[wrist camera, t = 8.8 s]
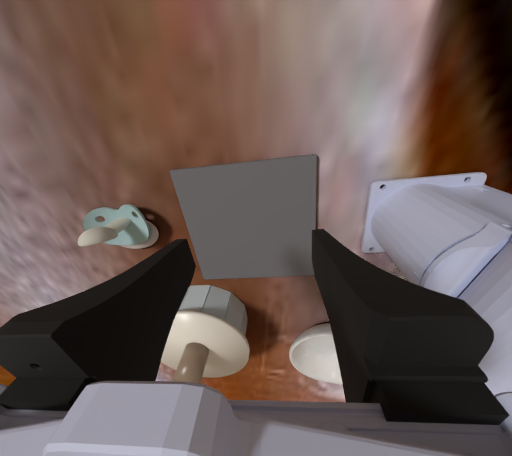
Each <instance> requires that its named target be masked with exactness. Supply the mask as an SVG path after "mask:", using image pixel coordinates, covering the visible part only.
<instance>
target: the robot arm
mask: <svg viewBox="0 0 512 456" xmlns="http://www.w3.org/2000/svg"><path fill="white" fill-rule="evenodd" d="M467 177H468V178H467ZM465 178H467V180H466V181H464V180H465ZM486 178H487V175H486V174H485V173H482V172H474V173H463V174H452V175H441V176H430V177H419V178H408V179H397V180H386V181H376V182H373V183H372V184H371V185H370V190H369V197H368V204H367V211H366V218H365V225H364V232H363V239H362V246H361V250H362V251H363V252H364V253H379V252H386V253H387V255H388V256H389V257H390V259H391V260H392V261H393V262H394V264H395V265H396V266H397V268H398V269H399V270H400V271H401V273H402V274H403V275H404V276H405V278H406V279H407V280H408V281H406V280H404V279H401V278H399V277H397V276H395V275H392V274H390V273H388V272H386V271H384V270H382V269H380V268H378V267H376V266H374V265H373V264H371V263H369V262H367V261H365V260H364V259H362V258H361V257H359V256H358V255H356V254H355V253H353V252H352V251H350V250H349V249H347V248H346V247H345V246H343V245H342V244H341V243H340V242H338V241H337V240H336V239H335V238H333V237H332V236H331V235H330V234H329V233H328V232H326V231H325V230H324V229H317V230H312V264H313V269H314V274H315V278H316V281H317V284H318V287H319V290H320V293H321V296H322V299H323V302H324V305H325V308H326V311H327V314H328V318H329V322H330V326H331V331H332V335H333V340H334V344H335V349H336V354H337V358H338V363H339V368H340V373H341V378H342V383H343V389H344V394H345V399H346V403H342V402H298V401H255V400H227V399H226V398H225V397H224V396H223V395H222V393H221V392H220V391H218V390H216V389H213V388H211V387H209V386H206V385H204V384H198V383H191V382H169V381H155V380H156V377H157V373H158V369H159V365H160V362H161V358H162V355H163V351H164V348H165V345H166V342H167V338H168V336H169V333H170V330H171V327H172V324H173V321H174V319H175V316H176V314H177V312H178V310H179V307H180V305H181V303H182V301H183V299H184V297H185V294H186V292H187V290H188V288H189V286H190V283H191V281H192V278H193V275H194V271H195V267H196V265H195V262H194V259H193V256H192V253H191V250H190V247H189V244H188V241H187V239H177V240H175V241H173V242H171V243H170V244H168V245H166V246H165V247H163V248H162V249H160V250H159V251H157V252H156V253H154V254H153V255H151V256H150V257H148V258H147V259H145V260H143V261H142V262H140V263H138V264H137V265H135V266H134V267H132V268H130V269H129V270H127V271H125V272H123V273H121V274H120V275H118V276H116V277H114V278H112V279H110V280H108V281H106V282H104V283H101V284H99V285H97V286H95V287H93V288H90V289H88V290H86V291H84V292H81V293H79V294H76V295H74V296H71V297H68V298H66V299H63V300H60V301H58V302H55V303H52V304H49V305H46V306H43V307H40V308H36V309H33V310H30V311H27V312H24V313H21V314H18V315H16V316H15V317H13V318H12V319H10V320H9V321H8V322H7V323H5V324H4V325H3V326H2V327H0V365H1V366H2V367H4V368H5V369H6V370H8V371H9V372H10V373H11V374H13V375H14V376H15V377H17V378H16V379H15V380H14V381H13V382H12V383H11V384H10V385H9V386H7V385H4V384H0V456H512V195H511V194H509V193H506V192H503V191H500V190H497V189H494V188H491V187H489V186H486V185H484V183H485V180H486ZM383 184H384V187H383V188H381V189H380V186H381V185H383ZM372 247H373V248H372ZM370 248H372V249H370Z"/></svg>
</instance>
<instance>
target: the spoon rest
mask: <svg viewBox="0 0 512 456" xmlns="http://www.w3.org/2000/svg"><path fill="white" fill-rule="evenodd" d="M289 358H290V361H291V363H292V364H293V366H294V367H295V368H296V369H297V370H298V371H299V372H301V373H302V374H304V375H306V376H308V377H310V378H313V379H316V380H320V381H324V382H329V383H334V384H342V385H343V383H342V378H341V373H340V368H339V363H338V358H337V354H336V349H335V344H334V340H333V335H332V331H331V326H330V323H326V324H320V325H316V326H313V327H311V328H309V329H307V330H305V331H304V332H302V333H301V334H300V335H299V336H298V337H297V338H296V339H295V340H294V342H293V343H292V345H291V347H290V351H289Z"/></svg>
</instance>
